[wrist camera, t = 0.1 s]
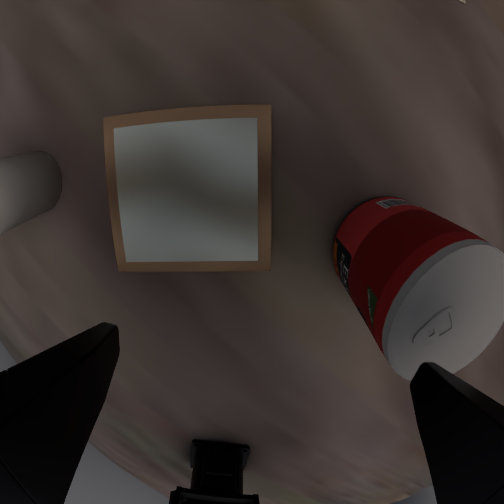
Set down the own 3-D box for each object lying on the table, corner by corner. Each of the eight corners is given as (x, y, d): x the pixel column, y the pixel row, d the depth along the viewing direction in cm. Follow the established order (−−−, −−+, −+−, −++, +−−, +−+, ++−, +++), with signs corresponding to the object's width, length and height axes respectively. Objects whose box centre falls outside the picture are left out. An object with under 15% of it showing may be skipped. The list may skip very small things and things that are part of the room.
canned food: (308, 244, 22) (355, 332, 12) (389, 171, 21) (490, 205, 10) (366, 308, 24) (422, 404, 14) (437, 245, 23) (524, 310, 12)
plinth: (267, 253, 23) (271, 272, 19) (132, 255, 22) (117, 273, 19) (267, 109, 19) (271, 104, 16) (121, 119, 19) (101, 117, 16)
